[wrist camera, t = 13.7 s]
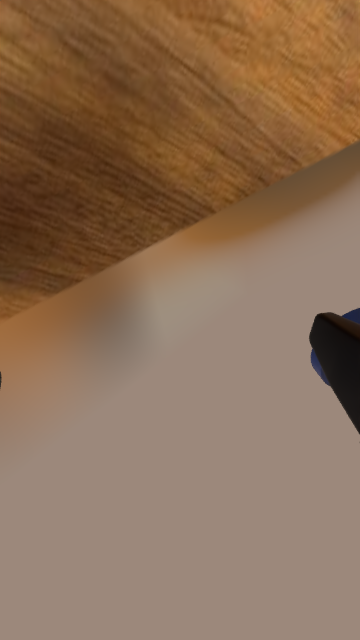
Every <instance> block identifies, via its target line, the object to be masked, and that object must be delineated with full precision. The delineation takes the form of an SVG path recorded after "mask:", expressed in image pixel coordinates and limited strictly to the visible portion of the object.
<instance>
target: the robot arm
mask: <svg viewBox="0 0 360 640" xmlns="http://www.w3.org/2000/svg"><path fill="white" fill-rule="evenodd" d="M309 339H310V344H311V346H312V348H313V350H314V352H315V355H316V357H317V359H318V361H319V363H320V365H321V367H322V370H323V372H324V374H325V376H326V378H327V380H328V382H329V384H330V386H331V388H332V389H333V391H334V393H335V394H336V396H337V398H338V399H339V401H340V403H341V404H342V406H343V408H344V409H345V411H346V413H347V414H348V416H349V418H350V419H351V421H352V423H353V424H354V426H355V428H356V429H357V431H358V432H359V434H360V324H358V323H356V322H354V321H351V320H349V319H346V318H344V317H342V316H339V315H337V314H334V313H331V312H328V313H320V314H317V316H316V317H315V319H314V323H313V326H312V329H311V332H310V336H309ZM0 387H1V372H0Z"/></svg>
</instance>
